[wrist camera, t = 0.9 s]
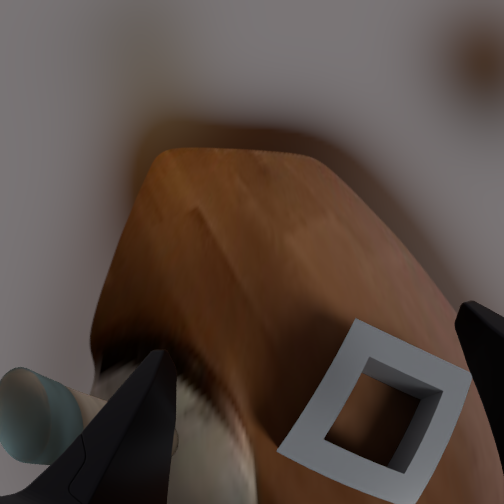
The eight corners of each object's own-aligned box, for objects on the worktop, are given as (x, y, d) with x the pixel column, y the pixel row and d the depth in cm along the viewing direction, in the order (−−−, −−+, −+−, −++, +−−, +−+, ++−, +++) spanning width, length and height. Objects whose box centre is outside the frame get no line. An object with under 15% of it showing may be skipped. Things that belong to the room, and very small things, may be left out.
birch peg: (160, 472, 17) (25, 481, 6) (122, 439, 19) (-17, 409, 7) (189, 435, 19) (68, 417, 8) (149, 404, 21) (21, 348, 9)
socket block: (392, 499, 14) (412, 508, 11) (278, 448, 18) (276, 451, 15) (448, 385, 18) (473, 373, 15) (345, 337, 22) (355, 318, 19)
